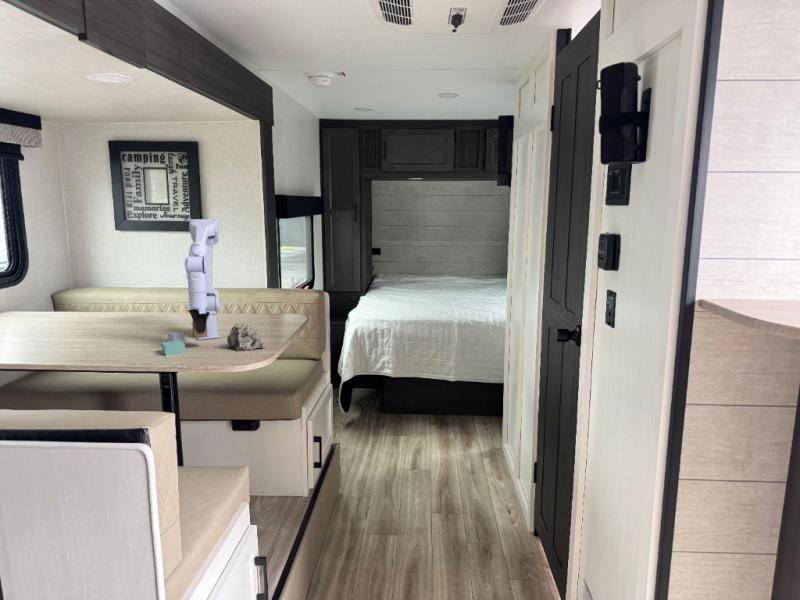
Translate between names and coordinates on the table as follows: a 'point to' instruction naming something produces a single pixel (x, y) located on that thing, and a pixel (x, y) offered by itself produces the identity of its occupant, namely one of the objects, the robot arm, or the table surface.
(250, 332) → the rock
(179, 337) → the bluegrey block
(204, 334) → the walnut block
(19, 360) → the table surface
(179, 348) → the teal slab
